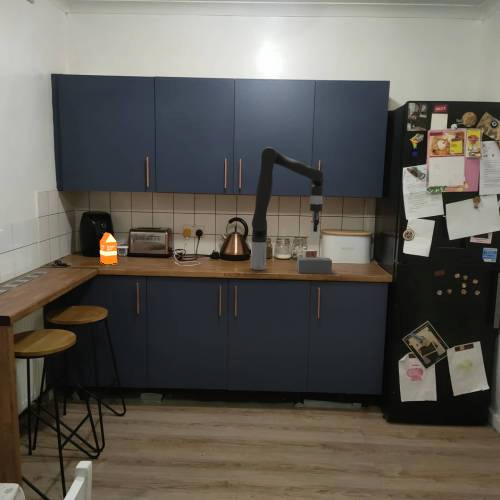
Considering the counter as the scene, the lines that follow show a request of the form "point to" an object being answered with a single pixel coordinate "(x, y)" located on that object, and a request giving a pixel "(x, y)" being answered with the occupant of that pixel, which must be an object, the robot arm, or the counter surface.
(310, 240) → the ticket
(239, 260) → the counter surface
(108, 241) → the orange juice
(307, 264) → the dispenser
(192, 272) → the counter surface
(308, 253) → the small box
